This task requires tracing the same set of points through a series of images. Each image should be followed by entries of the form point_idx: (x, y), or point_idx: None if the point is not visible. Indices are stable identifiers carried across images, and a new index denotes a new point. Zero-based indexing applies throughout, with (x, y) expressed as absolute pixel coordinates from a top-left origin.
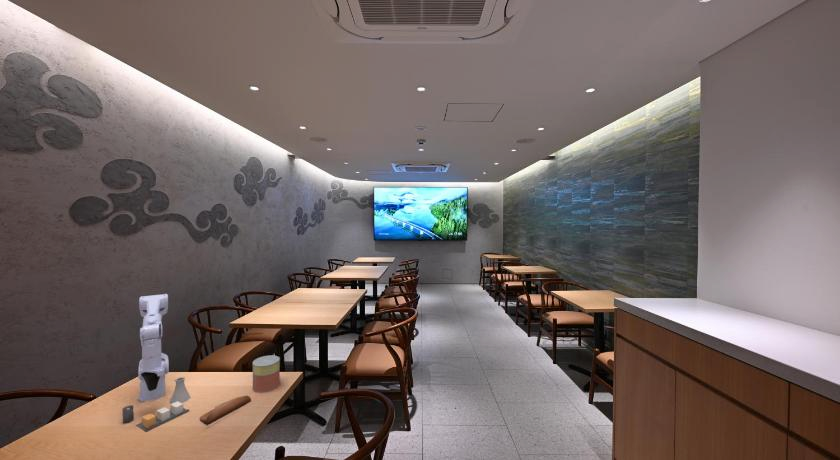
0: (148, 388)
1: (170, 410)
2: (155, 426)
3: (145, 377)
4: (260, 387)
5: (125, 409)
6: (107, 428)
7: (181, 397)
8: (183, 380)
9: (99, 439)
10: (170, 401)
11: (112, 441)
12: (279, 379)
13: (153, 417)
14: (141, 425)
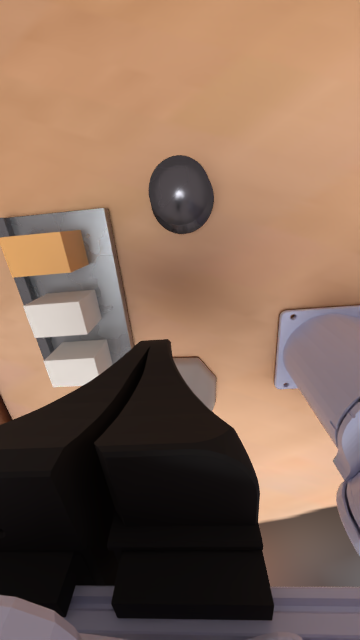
0: (149, 346)
1: (103, 342)
2: None
3: (52, 430)
4: None
5: (163, 170)
6: (223, 112)
7: None
8: None
9: (132, 42)
10: (192, 369)
11: (56, 90)
12: None
13: (9, 267)
14: (77, 226)
